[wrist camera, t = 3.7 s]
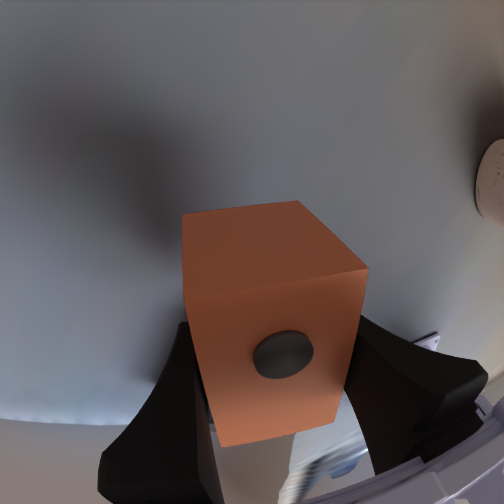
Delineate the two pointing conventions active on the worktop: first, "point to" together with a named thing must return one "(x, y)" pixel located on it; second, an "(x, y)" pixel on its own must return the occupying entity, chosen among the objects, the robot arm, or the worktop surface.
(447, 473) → the robot arm
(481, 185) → the teacup with lid
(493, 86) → the worktop surface
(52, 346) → the worktop surface
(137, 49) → the worktop surface
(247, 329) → the block
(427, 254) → the worktop surface
